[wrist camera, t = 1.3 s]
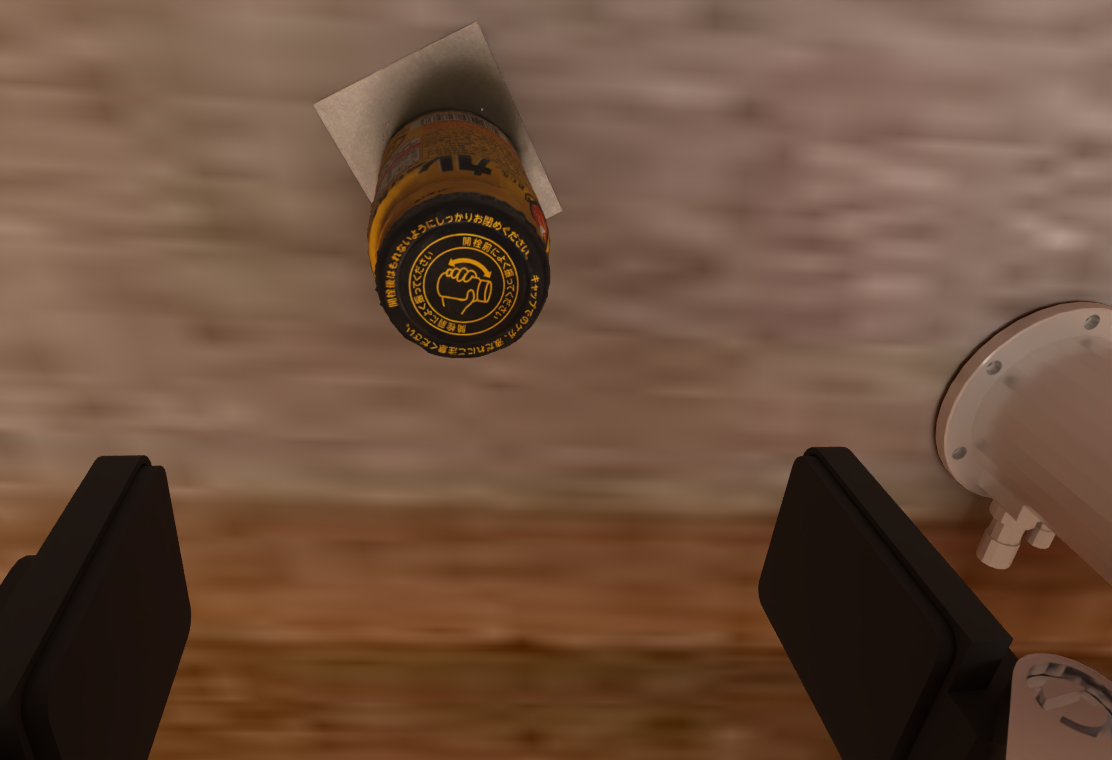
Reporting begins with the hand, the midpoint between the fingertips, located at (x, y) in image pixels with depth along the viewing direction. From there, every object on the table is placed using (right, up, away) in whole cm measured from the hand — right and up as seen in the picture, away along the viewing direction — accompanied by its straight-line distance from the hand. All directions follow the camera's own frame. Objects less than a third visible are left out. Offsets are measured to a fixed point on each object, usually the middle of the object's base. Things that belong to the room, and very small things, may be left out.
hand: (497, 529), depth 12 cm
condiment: (-4, +12, +21) cm, 25 cm away
